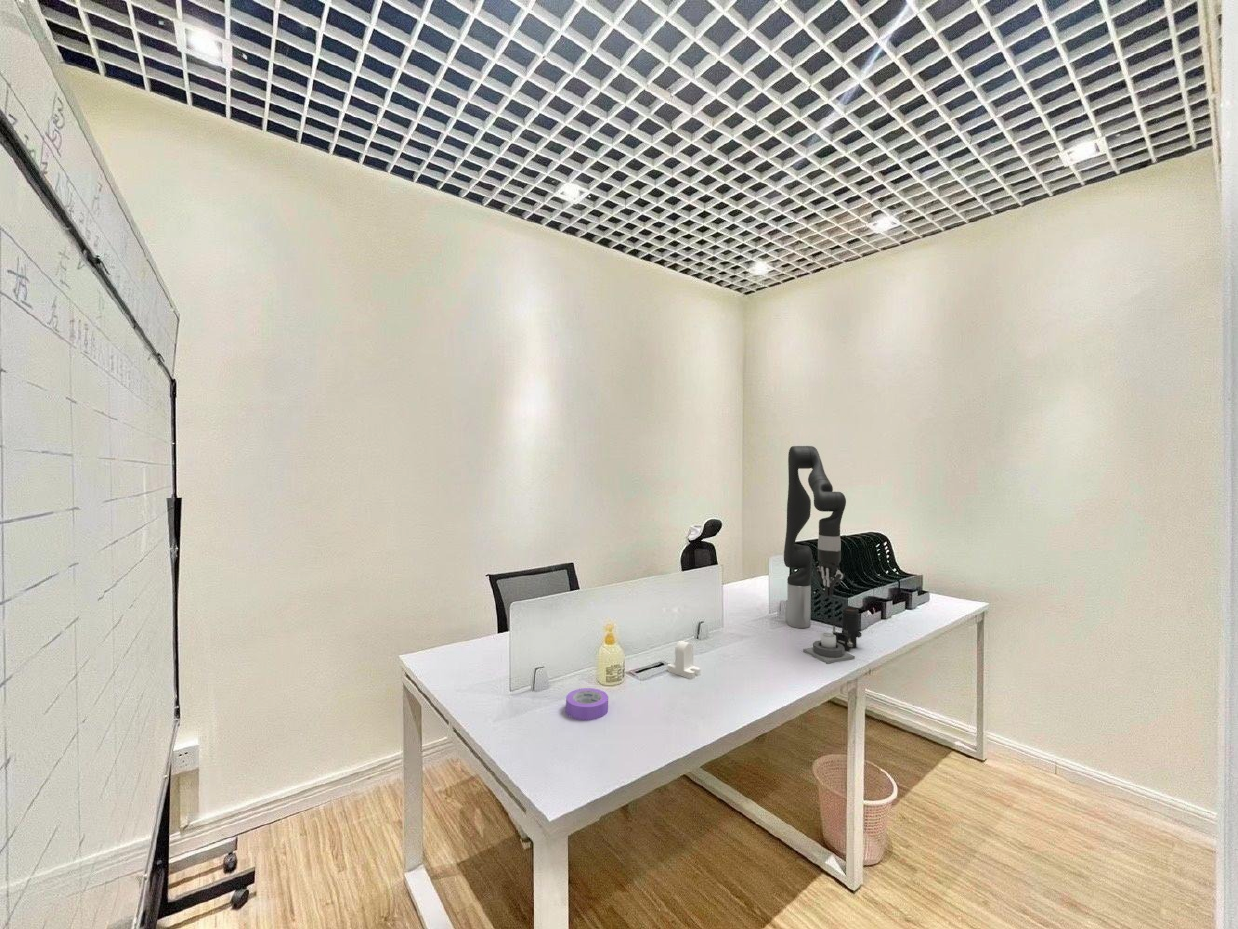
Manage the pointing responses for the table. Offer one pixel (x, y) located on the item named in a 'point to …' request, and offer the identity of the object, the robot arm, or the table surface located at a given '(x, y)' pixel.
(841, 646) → the ring on square plate
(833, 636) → the cap
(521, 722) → the table surface
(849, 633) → the scope
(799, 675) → the table surface
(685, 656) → the cable organizer
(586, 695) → the masking tape
